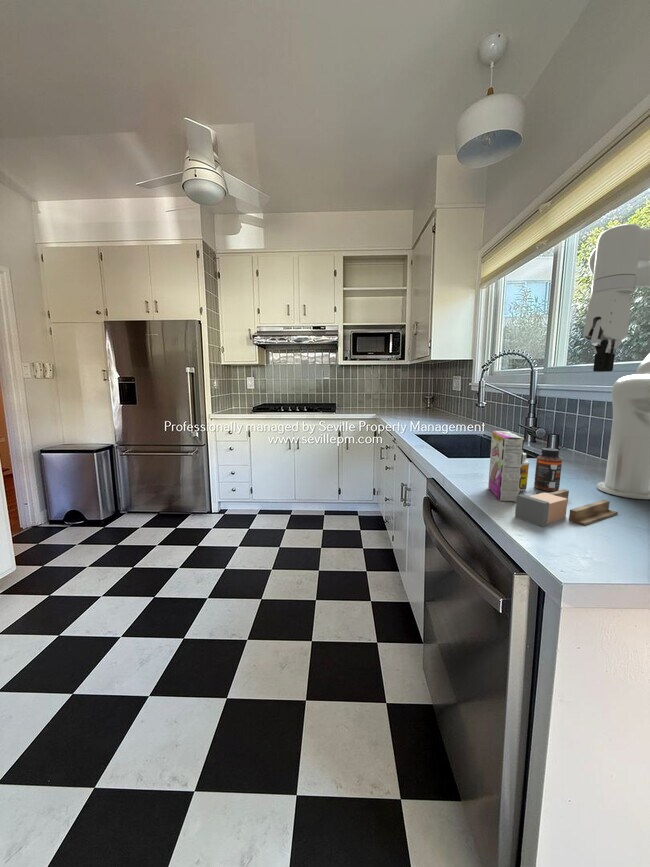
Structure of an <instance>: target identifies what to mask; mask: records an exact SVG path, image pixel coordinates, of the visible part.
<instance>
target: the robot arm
mask: <svg viewBox="0 0 650 867" xmlns="http://www.w3.org/2000/svg"><path fill="white" fill-rule="evenodd" d="M588 267H589V270H590V272H591V274H592V275H593V277H592V285H591V292H590V293H591V294H590V298H589V302H588V306H587V310H586V315H585V320H584V321H585V322H584V328H583V334H582V336H583V339H585V340H586V341H590V343H591V345H592V346H594V350H593V352H594V361H593V368H592V369H593V370H592V371H593V372H595V373H596V372H598V373H600V372H602V373H603V372H604V373H605V372H606V373H607V372H612V371H614V363H615V357H616V356H615V355H616V353H617V350H618V349H617V348H618V347H620V346H621V344H622V340H625V339H626V338H627V336H628V334H629V330H630V329H629V328H630V327H629V326H630V321H631V304H632V300H631V298H632V297H631V296H632V294H634V293H635V289H636V288H648V289H650V228H645V227H644V228H641V226H640V225H638V224H635V223H631V224H630V223H629V224H628V223H627V224H620V225H616V226H613V227H610V228H608V229H605V230H604V231H603V232H601V233H600V235H599V236H598V238H597V242H596V248H594V249H593V250H592V252H591V253H590V256H589V258H588ZM611 404H612V421H611V422H612V423H611V431H610V440H609V446H608V447H609V448H608V454H607V456H608V457H607V463H606V471H605V479H604V481H600V482H597V486H596V488H597V489H598V490H599V491H601V492H604V493H606V494H610V495H613V496H618V497H621V498H622V497H623V498H628V499H635V500H636V499H637V500H650V352H649V353H648V354H647V355H646V357H645V358H644V359H643V360H641V362H640V363H639V365H638V367H637V368H636V371H635V374H630V375H624V376H622V377H620V378H618V379H617V380H616V381H615V382H614V384H613V385H612V388H611Z"/></svg>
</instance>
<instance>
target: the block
mask: <svg viewBox="0 0 650 867" xmlns="http://www.w3.org/2000/svg"><path fill="white" fill-rule="evenodd" d="M548 493H549V492H546V491H545V492H540V493H538V494H537V493H536V494H532V495H529V496H530V497H533V498H536V499H540V500H543V501H546V502H549V510H548V519H547V524H550V523H553V522H556V521H561V520H563V519H566V517H567V506H568V501H569V498H568V499H566V498H563V497H559V496H555V495H552V494H548Z"/></svg>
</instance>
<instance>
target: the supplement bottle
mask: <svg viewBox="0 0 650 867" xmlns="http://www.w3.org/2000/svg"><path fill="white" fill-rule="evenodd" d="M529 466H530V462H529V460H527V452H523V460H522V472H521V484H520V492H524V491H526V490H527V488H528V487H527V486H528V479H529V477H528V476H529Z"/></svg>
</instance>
